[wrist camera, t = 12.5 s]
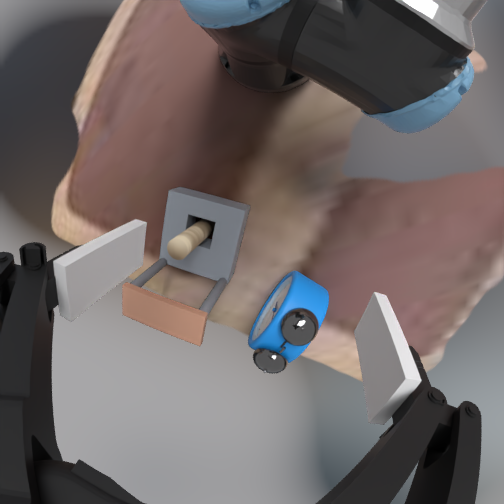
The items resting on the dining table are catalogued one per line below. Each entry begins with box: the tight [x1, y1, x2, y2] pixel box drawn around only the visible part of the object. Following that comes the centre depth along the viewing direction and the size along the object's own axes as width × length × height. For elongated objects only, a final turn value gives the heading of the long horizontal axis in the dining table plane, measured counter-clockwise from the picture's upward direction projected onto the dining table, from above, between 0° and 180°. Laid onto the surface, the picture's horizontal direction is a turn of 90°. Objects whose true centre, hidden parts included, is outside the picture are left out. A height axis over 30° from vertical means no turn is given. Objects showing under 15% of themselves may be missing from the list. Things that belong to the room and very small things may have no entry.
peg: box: [167, 219, 216, 260], centre depth 40 cm, size 3×3×12 cm
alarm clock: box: [248, 271, 329, 373], centre depth 40 cm, size 13×6×15 cm, turn 150°
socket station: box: [123, 187, 250, 346], centre depth 39 cm, size 16×12×15 cm
